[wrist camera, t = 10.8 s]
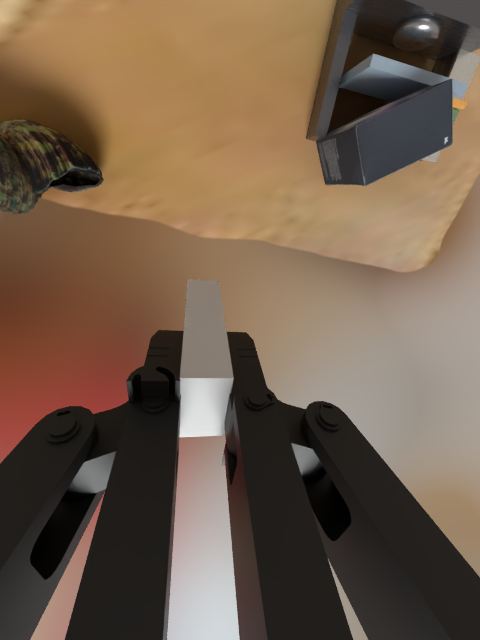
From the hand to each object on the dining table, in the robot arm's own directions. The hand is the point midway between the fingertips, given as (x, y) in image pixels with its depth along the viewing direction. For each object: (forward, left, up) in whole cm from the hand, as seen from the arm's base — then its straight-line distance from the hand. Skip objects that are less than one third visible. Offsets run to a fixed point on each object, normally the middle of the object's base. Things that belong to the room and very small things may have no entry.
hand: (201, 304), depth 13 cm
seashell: (-4, -18, -29) cm, 34 cm away
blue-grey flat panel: (-19, +24, -27) cm, 41 cm away
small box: (-13, +21, -29) cm, 38 cm away
